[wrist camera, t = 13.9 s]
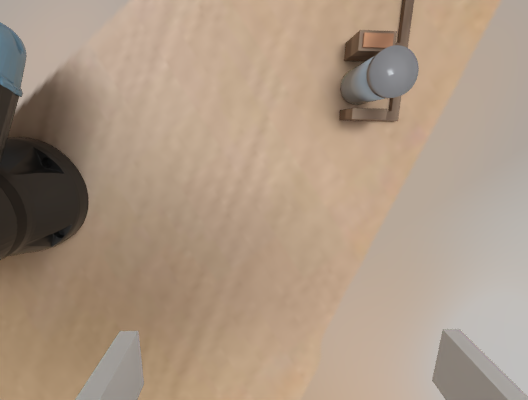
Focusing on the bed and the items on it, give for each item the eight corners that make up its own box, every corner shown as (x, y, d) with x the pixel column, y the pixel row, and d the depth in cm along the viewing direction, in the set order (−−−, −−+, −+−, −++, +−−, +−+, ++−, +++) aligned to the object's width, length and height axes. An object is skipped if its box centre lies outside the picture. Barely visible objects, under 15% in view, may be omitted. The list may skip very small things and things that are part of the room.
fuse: (338, 104, 37) (368, 97, 28) (341, 66, 36) (373, 44, 27) (373, 105, 38) (414, 97, 28) (377, 67, 36) (421, 45, 27)
